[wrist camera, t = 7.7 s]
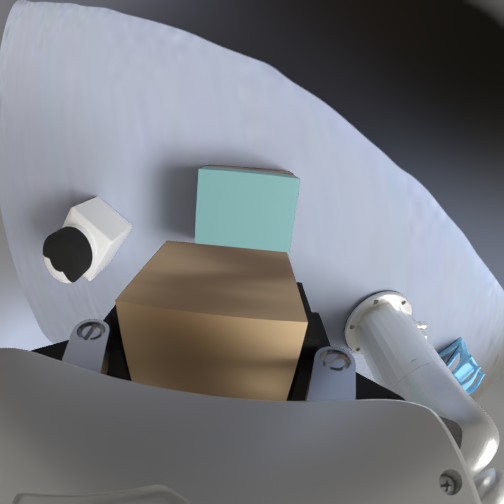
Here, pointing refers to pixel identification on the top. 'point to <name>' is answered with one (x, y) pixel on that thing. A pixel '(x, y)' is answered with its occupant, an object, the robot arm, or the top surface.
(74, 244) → the medicine bottle
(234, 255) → the oak block
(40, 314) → the top surface
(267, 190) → the teal slab
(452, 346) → the chair
